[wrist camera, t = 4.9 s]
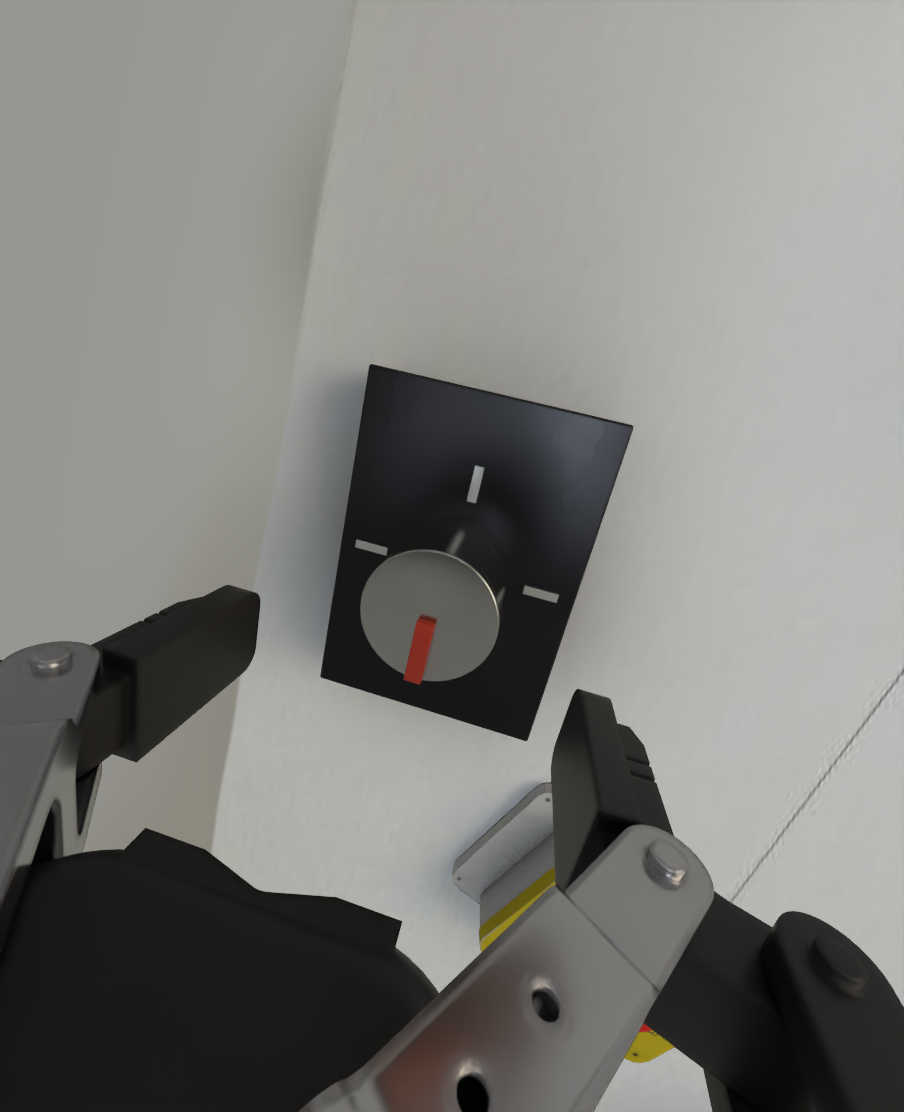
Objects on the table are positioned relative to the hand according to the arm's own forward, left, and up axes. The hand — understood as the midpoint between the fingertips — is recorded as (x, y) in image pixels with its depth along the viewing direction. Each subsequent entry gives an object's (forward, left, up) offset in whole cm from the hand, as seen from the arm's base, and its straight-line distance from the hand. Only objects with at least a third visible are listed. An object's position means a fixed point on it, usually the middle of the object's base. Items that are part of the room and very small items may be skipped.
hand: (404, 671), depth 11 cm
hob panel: (0, 0, -11) cm, 11 cm away
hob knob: (0, 0, -8) cm, 8 cm away
